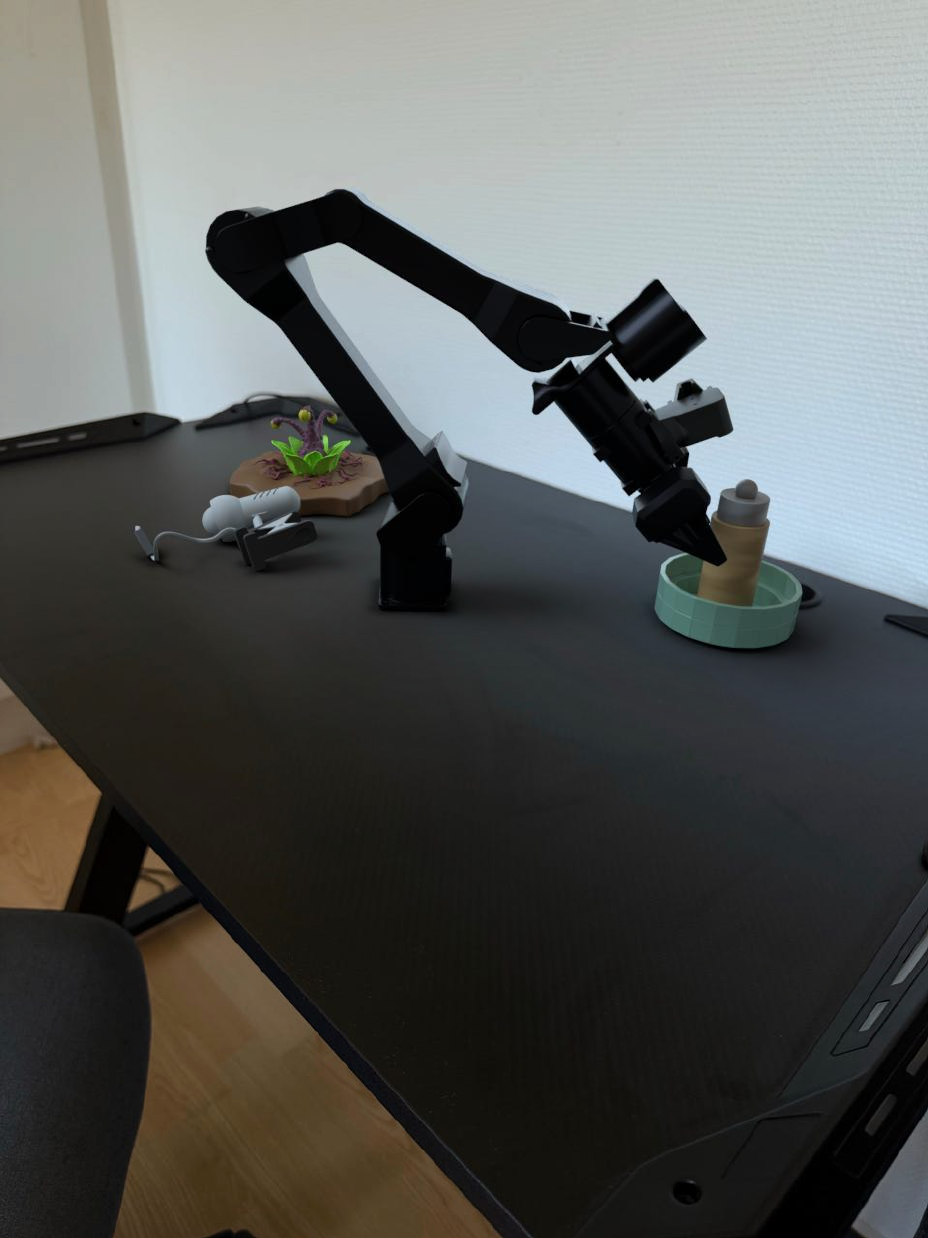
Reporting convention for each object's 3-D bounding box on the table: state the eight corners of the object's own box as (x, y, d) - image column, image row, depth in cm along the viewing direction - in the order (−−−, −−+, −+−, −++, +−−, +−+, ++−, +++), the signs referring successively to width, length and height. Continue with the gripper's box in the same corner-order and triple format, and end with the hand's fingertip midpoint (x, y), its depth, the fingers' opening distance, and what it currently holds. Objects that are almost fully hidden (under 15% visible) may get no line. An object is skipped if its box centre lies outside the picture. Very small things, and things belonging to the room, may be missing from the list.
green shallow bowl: (673, 652, 80) (681, 607, 78) (640, 590, 92) (646, 549, 90) (813, 654, 81) (825, 610, 79) (764, 592, 93) (772, 552, 91)
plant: (206, 507, 108) (197, 414, 102) (264, 460, 125) (259, 379, 120) (367, 524, 105) (367, 430, 100) (404, 473, 122) (405, 391, 117)
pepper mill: (720, 632, 83) (748, 492, 77) (683, 609, 87) (706, 474, 81) (760, 621, 86) (791, 484, 79) (722, 600, 90) (748, 468, 83)
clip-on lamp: (151, 606, 90) (323, 555, 94) (129, 554, 86) (309, 502, 90) (145, 552, 99) (302, 507, 103) (125, 502, 96) (288, 457, 99)
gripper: (703, 379, 68) (817, 527, 72) (672, 336, 84) (766, 459, 89) (586, 471, 72) (702, 606, 76) (579, 413, 88) (674, 527, 93)
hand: (714, 543), depth 83 cm, fingers open, 9 cm apart
